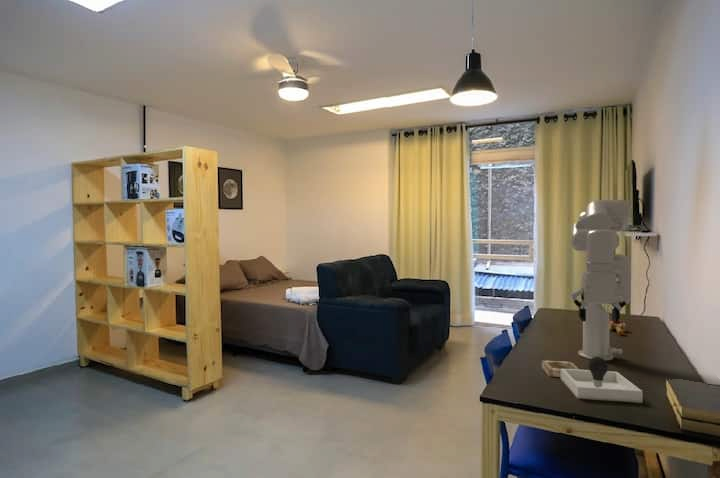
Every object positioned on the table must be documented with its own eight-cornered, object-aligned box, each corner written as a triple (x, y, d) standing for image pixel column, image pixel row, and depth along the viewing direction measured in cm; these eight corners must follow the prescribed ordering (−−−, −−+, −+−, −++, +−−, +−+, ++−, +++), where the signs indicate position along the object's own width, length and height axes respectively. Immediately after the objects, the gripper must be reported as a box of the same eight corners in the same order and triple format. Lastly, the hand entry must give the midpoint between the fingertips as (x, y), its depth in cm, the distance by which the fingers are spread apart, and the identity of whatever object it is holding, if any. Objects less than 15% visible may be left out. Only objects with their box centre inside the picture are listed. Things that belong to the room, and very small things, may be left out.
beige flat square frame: (571, 368, 158) (571, 362, 158) (580, 378, 147) (581, 371, 147) (542, 366, 159) (542, 360, 159) (549, 376, 149) (549, 369, 149)
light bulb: (584, 384, 139) (584, 354, 139) (600, 384, 140) (600, 354, 140) (595, 391, 134) (595, 359, 134) (611, 390, 134) (612, 359, 134)
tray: (616, 382, 144) (617, 371, 144) (642, 402, 126) (642, 391, 126) (560, 378, 147) (560, 368, 147) (577, 398, 129) (577, 387, 129)
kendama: (632, 339, 208) (623, 327, 225) (629, 327, 207) (621, 315, 224) (614, 340, 211) (606, 328, 227) (612, 328, 210) (604, 317, 227)
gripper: (623, 267, 138) (623, 319, 139) (567, 266, 141) (566, 317, 142) (634, 269, 131) (633, 324, 131) (574, 268, 134) (574, 322, 134)
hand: (598, 321), depth 136 cm, fingers open, 9 cm apart
